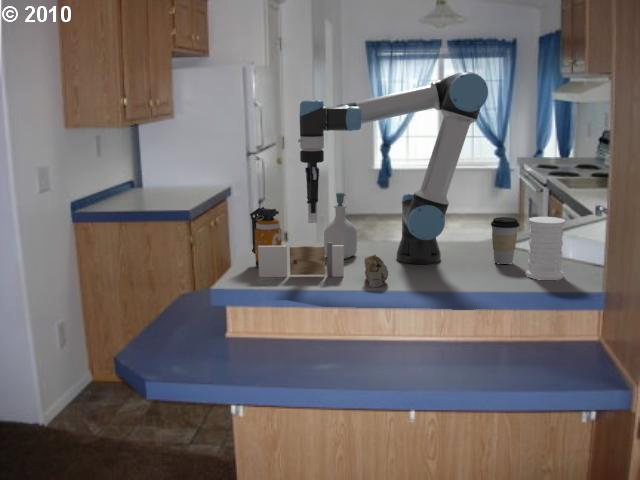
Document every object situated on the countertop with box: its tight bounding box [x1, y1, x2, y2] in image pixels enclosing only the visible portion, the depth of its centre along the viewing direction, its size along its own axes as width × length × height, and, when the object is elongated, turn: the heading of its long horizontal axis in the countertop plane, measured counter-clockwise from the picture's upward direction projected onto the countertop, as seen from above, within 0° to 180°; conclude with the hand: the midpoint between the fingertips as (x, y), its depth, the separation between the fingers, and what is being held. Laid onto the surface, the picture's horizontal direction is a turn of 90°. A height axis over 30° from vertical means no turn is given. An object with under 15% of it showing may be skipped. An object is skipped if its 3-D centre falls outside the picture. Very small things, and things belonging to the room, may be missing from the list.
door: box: [289, 245, 326, 276], centre depth 233 cm, size 11×2×9 cm, turn 88°
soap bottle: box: [323, 192, 358, 260], centre depth 258 cm, size 10×10×23 cm
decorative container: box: [524, 216, 566, 281], centre depth 229 cm, size 12×12×18 cm
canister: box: [249, 206, 283, 268], centre depth 247 cm, size 9×11×20 cm
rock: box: [364, 254, 389, 288], centre depth 226 cm, size 12×7×10 cm, turn 1°
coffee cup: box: [490, 216, 521, 265], centre depth 247 cm, size 9×9×15 cm
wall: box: [258, 242, 345, 278], centre depth 233 cm, size 27×2×11 cm, turn 88°
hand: (312, 222), depth 239 cm, fingers closed
